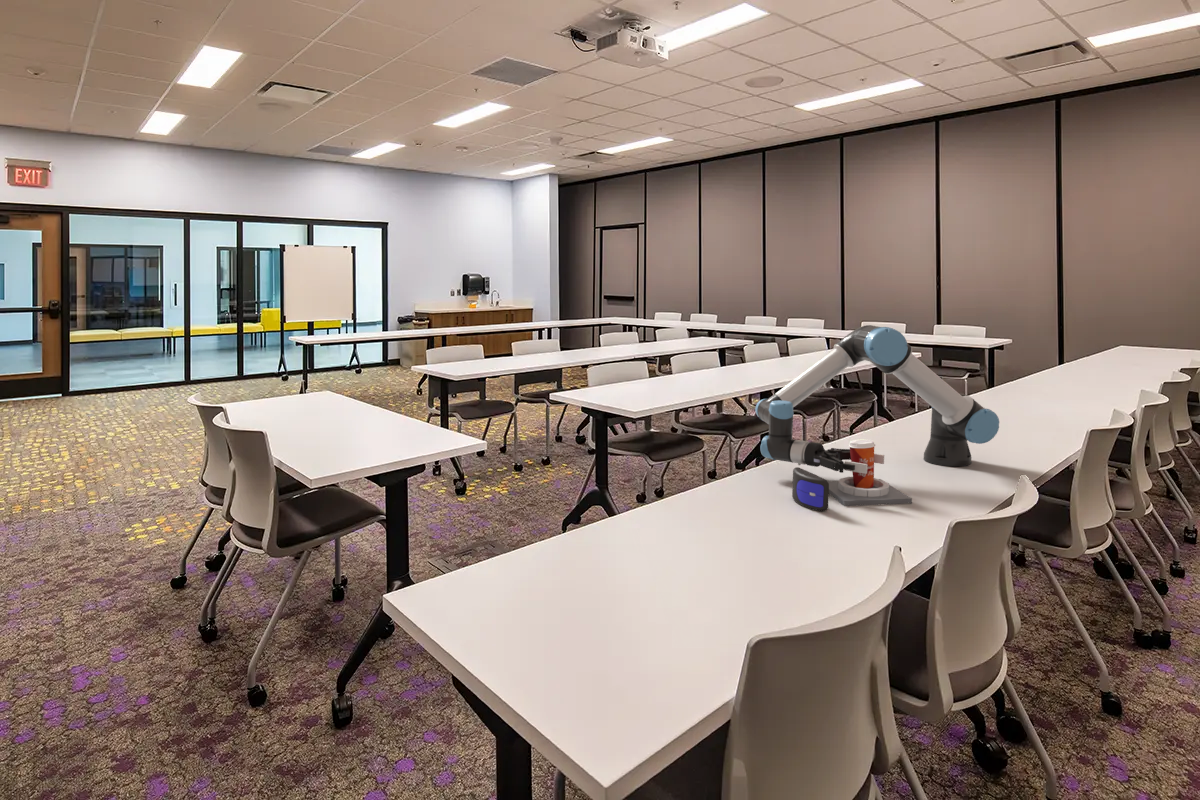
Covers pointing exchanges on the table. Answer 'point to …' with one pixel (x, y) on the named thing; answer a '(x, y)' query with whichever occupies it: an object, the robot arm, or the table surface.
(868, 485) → the paper cup
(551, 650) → the table surface
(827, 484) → the leaning round-cornered charcoal block
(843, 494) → the collar board
